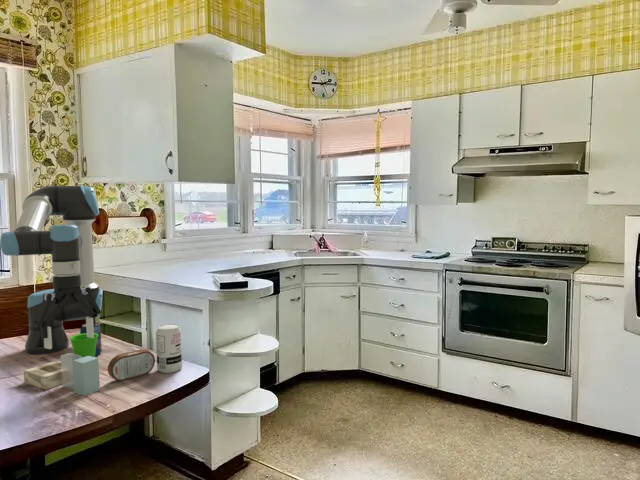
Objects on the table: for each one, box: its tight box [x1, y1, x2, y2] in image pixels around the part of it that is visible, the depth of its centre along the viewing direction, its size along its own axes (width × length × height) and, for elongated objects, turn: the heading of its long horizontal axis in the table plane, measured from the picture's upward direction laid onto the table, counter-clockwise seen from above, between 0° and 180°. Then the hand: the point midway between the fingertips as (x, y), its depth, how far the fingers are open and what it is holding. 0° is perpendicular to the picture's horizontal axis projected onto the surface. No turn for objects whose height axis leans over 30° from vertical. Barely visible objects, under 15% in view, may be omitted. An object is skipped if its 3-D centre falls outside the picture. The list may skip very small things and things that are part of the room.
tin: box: [107, 348, 156, 382], centre depth 153 cm, size 15×3×8 cm, turn 136°
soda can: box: [79, 322, 102, 358], centre depth 175 cm, size 7×7×12 cm
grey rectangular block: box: [60, 352, 82, 391], centre depth 145 cm, size 3×6×10 cm, turn 60°
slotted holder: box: [23, 360, 62, 390], centre depth 150 cm, size 10×12×4 cm
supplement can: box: [155, 323, 183, 374], centre depth 159 cm, size 8×8×15 cm
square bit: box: [73, 356, 101, 396], centre depth 141 cm, size 5×5×10 cm
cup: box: [69, 333, 99, 357], centre depth 163 cm, size 9×9×11 cm
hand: (70, 342), depth 144 cm, fingers open, 13 cm apart
